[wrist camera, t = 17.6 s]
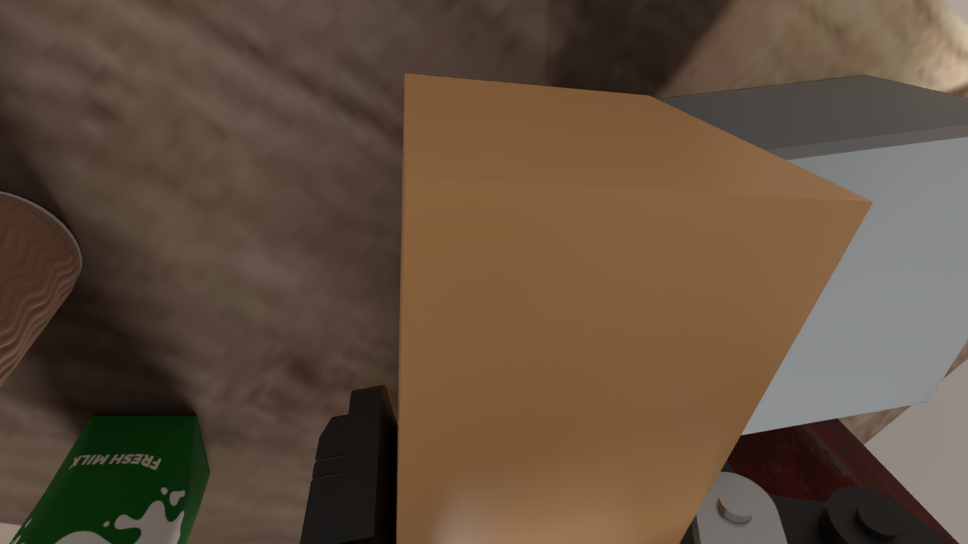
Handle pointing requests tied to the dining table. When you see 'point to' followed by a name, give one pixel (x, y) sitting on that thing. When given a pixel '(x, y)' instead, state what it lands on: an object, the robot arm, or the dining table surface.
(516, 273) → the light orange bar
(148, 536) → the milk carton
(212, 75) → the dining table surface
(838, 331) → the lid
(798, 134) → the box
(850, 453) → the decanter
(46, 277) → the coffee cup
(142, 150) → the dining table surface
